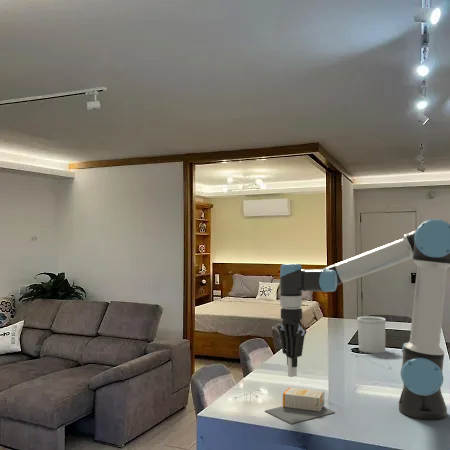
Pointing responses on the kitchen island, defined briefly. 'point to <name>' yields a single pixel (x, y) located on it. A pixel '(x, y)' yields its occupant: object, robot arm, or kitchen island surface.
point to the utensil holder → (371, 334)
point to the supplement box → (303, 399)
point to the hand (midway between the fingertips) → (292, 375)
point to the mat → (297, 414)
